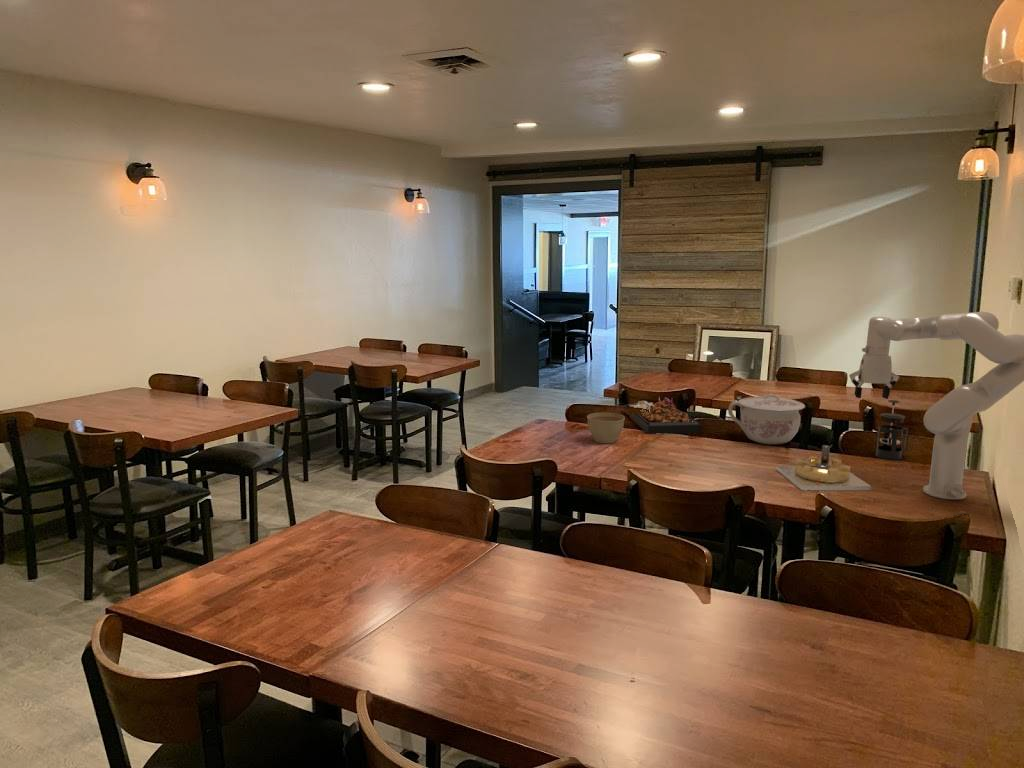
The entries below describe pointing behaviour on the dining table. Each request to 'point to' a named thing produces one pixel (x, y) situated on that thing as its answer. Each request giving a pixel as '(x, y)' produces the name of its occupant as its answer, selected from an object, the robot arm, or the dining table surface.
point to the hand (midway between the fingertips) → (871, 397)
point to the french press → (892, 451)
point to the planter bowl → (605, 426)
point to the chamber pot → (768, 418)
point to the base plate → (806, 484)
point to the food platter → (663, 418)
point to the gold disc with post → (822, 468)
